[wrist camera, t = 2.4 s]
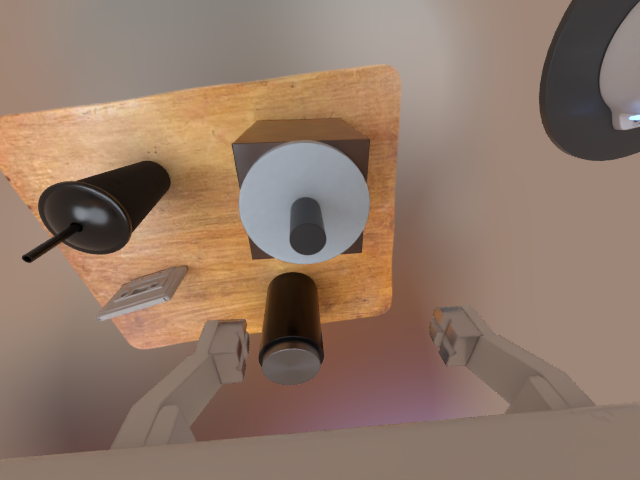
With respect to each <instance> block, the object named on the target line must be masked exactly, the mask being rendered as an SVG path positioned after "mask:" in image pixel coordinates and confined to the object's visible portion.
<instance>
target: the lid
mask: <svg viewBox="0 0 640 480" xmlns="http://www.w3.org/2000/svg"><path fill="white" fill-rule="evenodd" d="M369 209H370V197H369V191H368V187H367V184H366V181H365V179H364V177H363V175H362V174H361V172H360V170H359V169H358V168H357V166H356V165H355V164H354V163H353V161H352V160H351V159H350V158H349V157H348V156H346V155H345V154H344V153H343V152H341V151H340V150H338V149H337V148H335V147H333V146H330V145H328V144H325V143H322V142H317V141H312V140H298V141H291V142H287V143H283V144H281V145H278V146H276V147H274V148H272V149H270V150H269V151H267V152H266V153H264V154H263V155H262V156H261V157H260V158H259V159H258V160H257V161H256V162H255V163H254V164H253V165H252V167H251V168H250V170H249V171H248V173H247V175H246V177H245V179H244V181H243V184H242V187H241V190H240V195H239V212H240V217H241V221H242V224H243V226H244V228H245V230H246V232H247V234H248V235H249V237H250V238H251V239H252V241H253V242H254V243H255V244H256V245H257V246H258V247H259V248H260V249H262V250H263V251H264V252H265V253H267V254H269V255H270V256H272V257H274V258H277V259H279V260H282V261H285V262H289V263H295V264H313V263H319V262H323V261H326V260H329V259H331V258H334V257H336V256H338V255H339V254H341V253H343V252H344V251H345V250H347V249H348V248H349V247H350V246H351V245H352V244H353V243H354V242H355V241H356V240H357V238H358V237H359V236H360V234H361V233H362V231H363V229H364V227H365V225H366V222H367V219H368V215H369Z"/></svg>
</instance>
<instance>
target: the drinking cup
mask: <svg viewBox="0 0 640 480" xmlns="http://www.w3.org/2000/svg"><path fill="white" fill-rule="evenodd" d="M169 187H170V177H169V175H168V173H167V171H166V170H165V169H164V168H163V167H162V166H160V165H159V164H157V163H155V162H152V161H142V162H139V163H135V164H132V165H129V166H125V167H122V168H118V169H115V170H112V171H108V172H105V173H101V174H98V175H95V176H91V177H88V178H85V179H81V180H78V181H66V182H60V183H57V184H54V185H52V186H50V187H48V188H47V189H46V190H45V191H44V192H43V193H42V195H41V196H40V199H39V203H38V210H39V214H40V217H41V219H42V221H43V223H44V225H45V226H46V228H47V229H48V230H49V231H50V232H51V233H52V234H53V235H54V237H52V238H51V239H49V240H47V241H46V242H45V243H43V244H41V245H39V246H38V247H36V248H35V249H33V250H31V251H30V252H28V253H27V254H25V255H23V256H22V259H23V260H24V261H25V262H28V263H31V262H33V261H34V260H36V259H37V258H39V257H40V256H42V255H43V254H45V253H46V252H48V251H49V250H51V249H52V248H53V247H55V246H57V245H58V244H60V243H61V242H63V243H64V244H66V245H68V246H70V247H72V248H74V249H76V250H79V251H82V252H85V253H90V254H110V253H113V252H116V251H118V250H120V249H121V248H123V247H124V246H125V245H126V244H127V243H128V241H129V240H130V237H131V234H132V232H133V231H134V230H135V229H136V228H137V226H138V225H139V224H140V223H141V222H142V220H143V219H144V218H145V217H146V216H147V214H148V213H149V212H150V211H151V210H152V208H153V207H154V206H155V205H156V204H157V202H158V201H159V200H160V199H161V198H162V196H163V195H164V194H165V193H166V192H167V190H168V189H169Z"/></svg>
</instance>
